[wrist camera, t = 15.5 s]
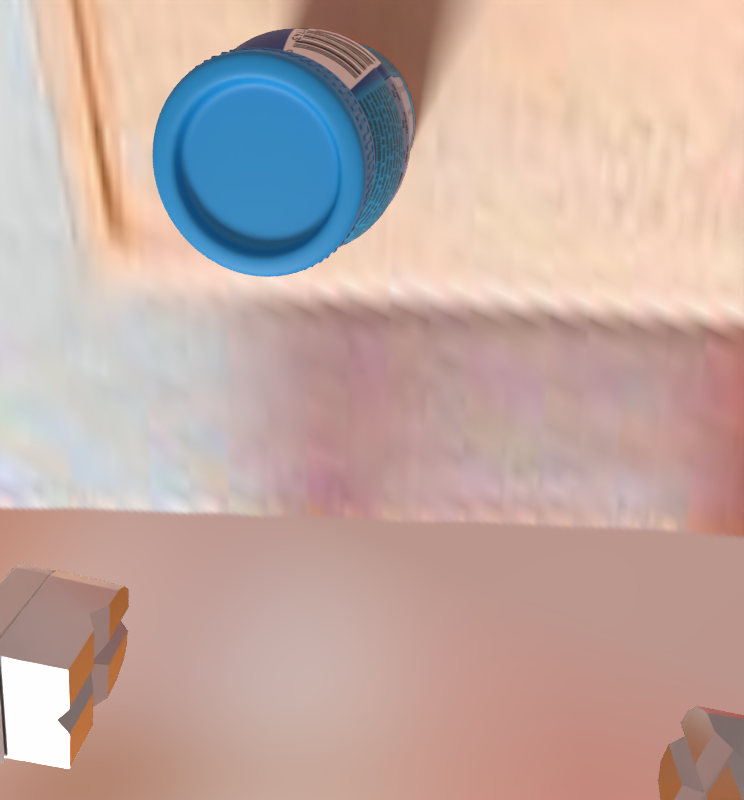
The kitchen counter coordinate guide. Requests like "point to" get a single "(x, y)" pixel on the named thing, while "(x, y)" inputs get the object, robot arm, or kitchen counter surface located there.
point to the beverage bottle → (283, 149)
